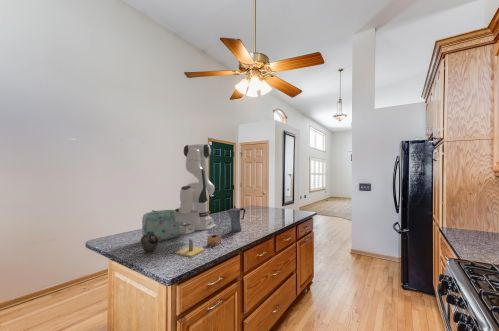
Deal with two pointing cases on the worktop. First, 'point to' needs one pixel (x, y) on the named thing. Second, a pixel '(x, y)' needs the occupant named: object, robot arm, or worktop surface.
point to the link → (186, 229)
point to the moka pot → (235, 218)
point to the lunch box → (161, 224)
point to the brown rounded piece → (214, 240)
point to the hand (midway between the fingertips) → (187, 229)
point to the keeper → (190, 250)
